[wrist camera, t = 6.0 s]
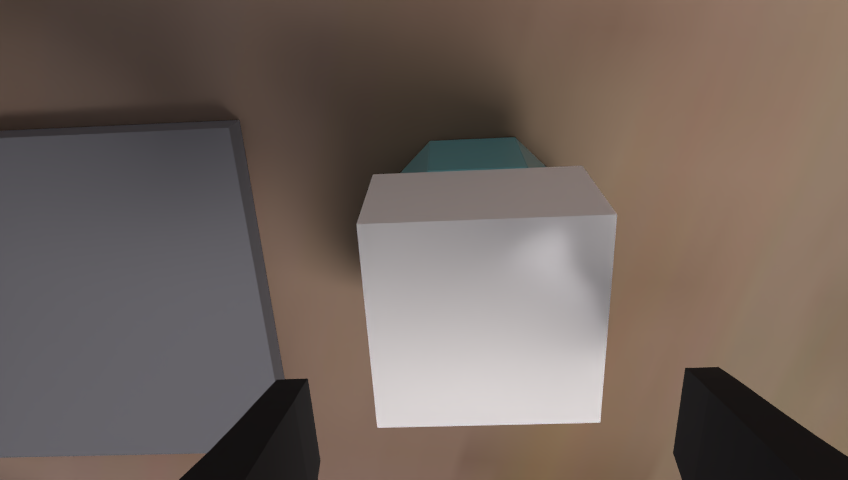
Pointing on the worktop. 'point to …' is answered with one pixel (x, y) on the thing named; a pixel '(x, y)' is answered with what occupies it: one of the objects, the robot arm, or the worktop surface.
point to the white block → (487, 295)
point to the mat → (129, 290)
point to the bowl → (472, 156)
